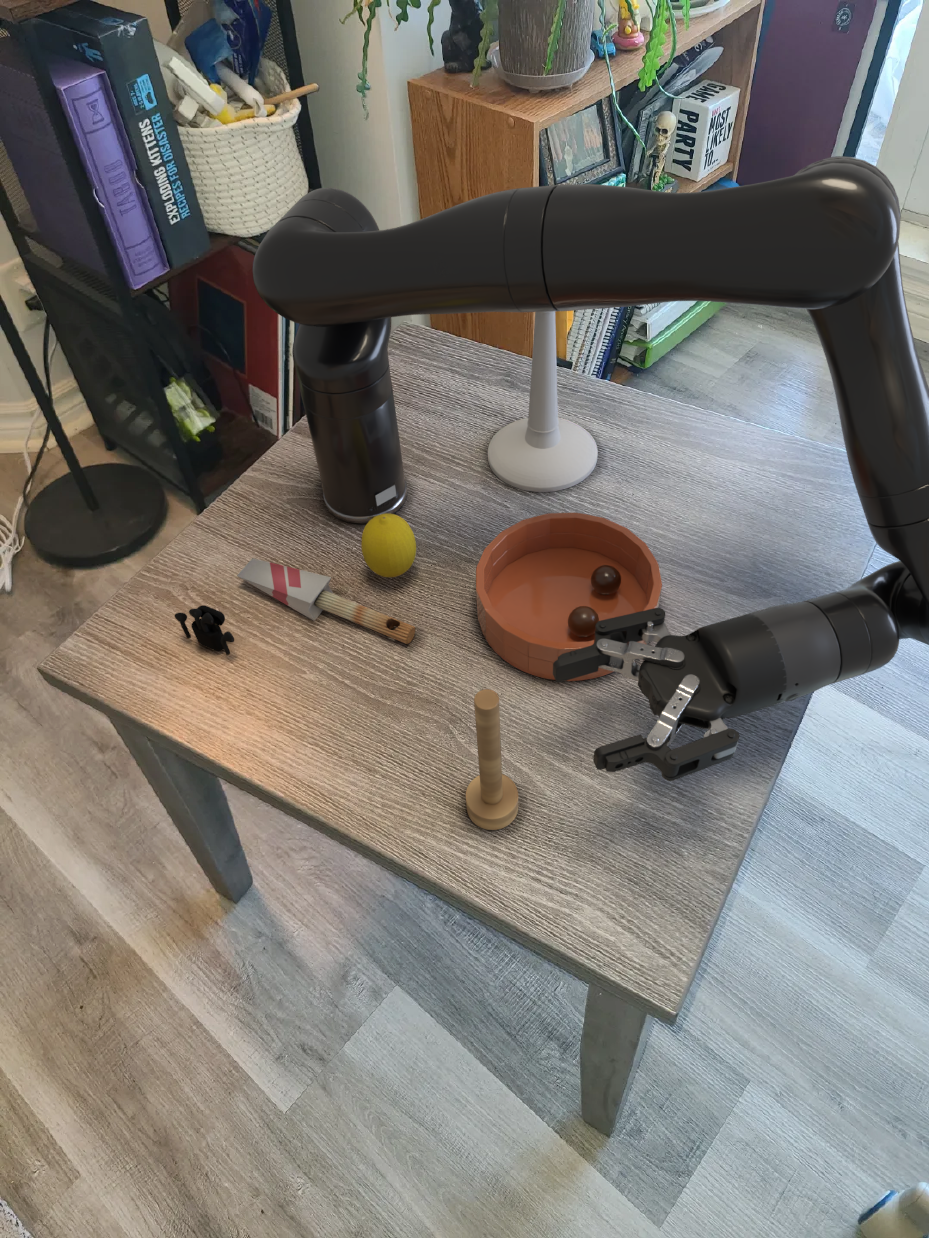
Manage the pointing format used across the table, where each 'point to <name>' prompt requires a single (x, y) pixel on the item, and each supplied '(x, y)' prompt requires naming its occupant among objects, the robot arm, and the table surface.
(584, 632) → the bead
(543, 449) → the candlestick
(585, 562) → the bowl
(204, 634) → the wireless earbuds
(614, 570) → the bead
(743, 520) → the table surface
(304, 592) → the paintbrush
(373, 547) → the lemon
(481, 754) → the wooden peg stand
